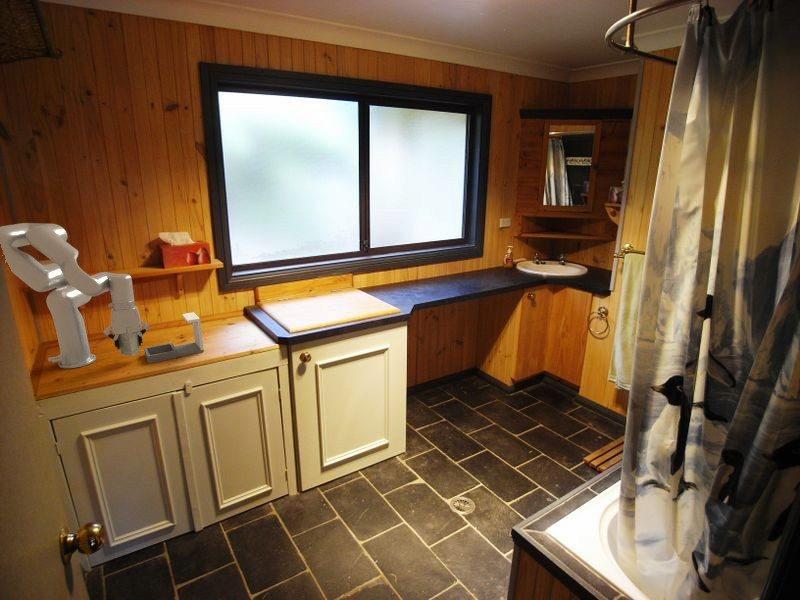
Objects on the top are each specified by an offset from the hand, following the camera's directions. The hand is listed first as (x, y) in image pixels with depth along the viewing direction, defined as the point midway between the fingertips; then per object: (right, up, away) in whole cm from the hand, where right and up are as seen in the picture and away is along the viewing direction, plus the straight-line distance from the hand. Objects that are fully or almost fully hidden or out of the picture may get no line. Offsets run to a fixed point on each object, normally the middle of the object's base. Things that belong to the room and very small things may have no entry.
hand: (129, 346), depth 185 cm
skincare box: (0, -3, +1) cm, 3 cm away
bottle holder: (+13, -4, +10) cm, 17 cm away
